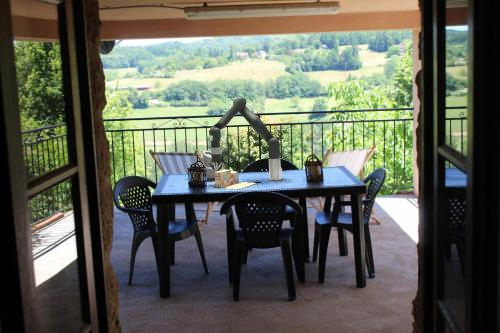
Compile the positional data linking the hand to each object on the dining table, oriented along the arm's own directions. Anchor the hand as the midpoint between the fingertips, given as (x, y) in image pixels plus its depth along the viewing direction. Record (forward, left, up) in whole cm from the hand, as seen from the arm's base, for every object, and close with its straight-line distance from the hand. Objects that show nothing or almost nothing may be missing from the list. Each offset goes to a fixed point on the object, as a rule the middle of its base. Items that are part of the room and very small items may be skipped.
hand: (217, 175), depth 539 cm
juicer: (+24, -20, -8) cm, 32 cm away
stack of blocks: (-8, -1, -8) cm, 12 cm away
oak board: (-20, 0, -8) cm, 22 cm away
